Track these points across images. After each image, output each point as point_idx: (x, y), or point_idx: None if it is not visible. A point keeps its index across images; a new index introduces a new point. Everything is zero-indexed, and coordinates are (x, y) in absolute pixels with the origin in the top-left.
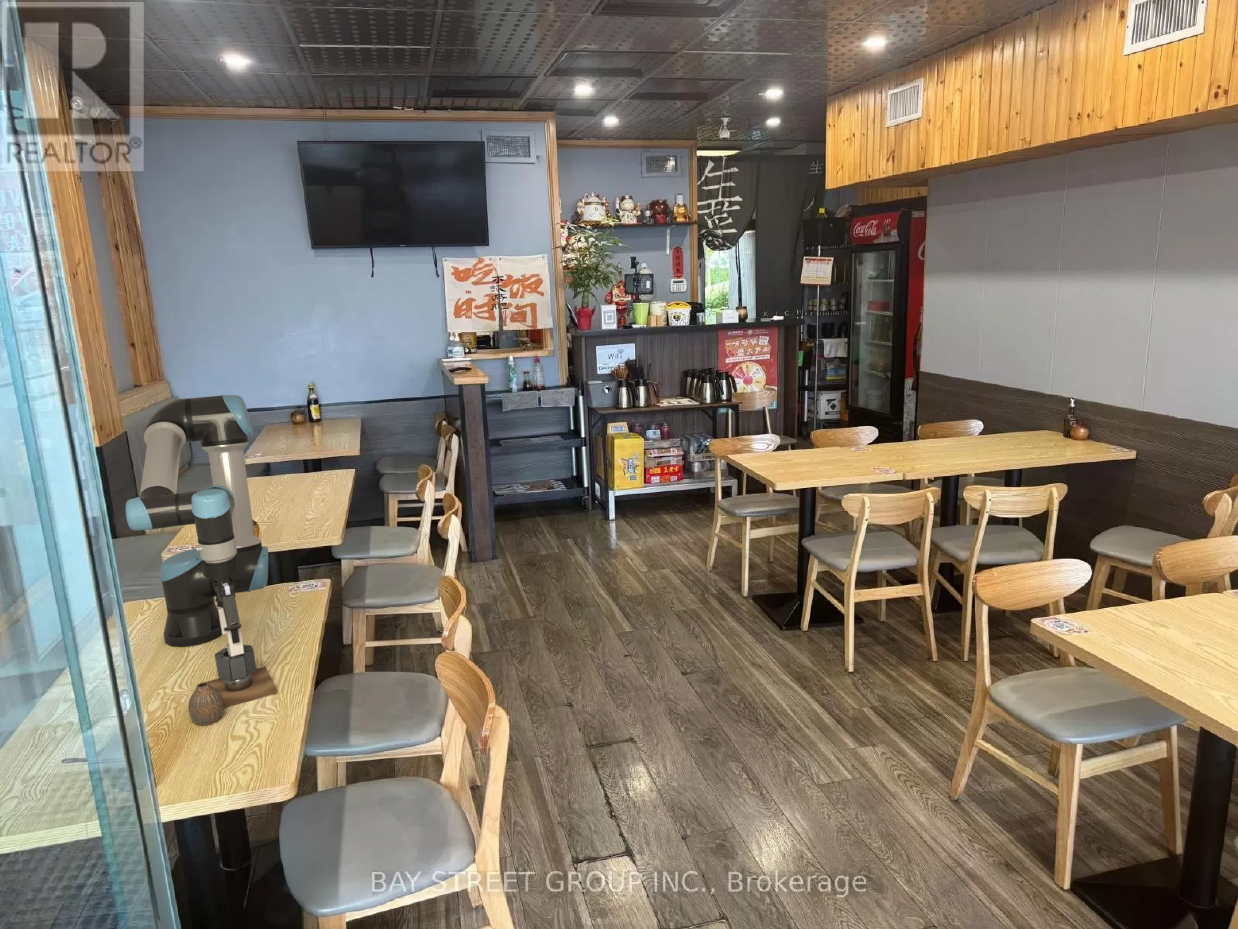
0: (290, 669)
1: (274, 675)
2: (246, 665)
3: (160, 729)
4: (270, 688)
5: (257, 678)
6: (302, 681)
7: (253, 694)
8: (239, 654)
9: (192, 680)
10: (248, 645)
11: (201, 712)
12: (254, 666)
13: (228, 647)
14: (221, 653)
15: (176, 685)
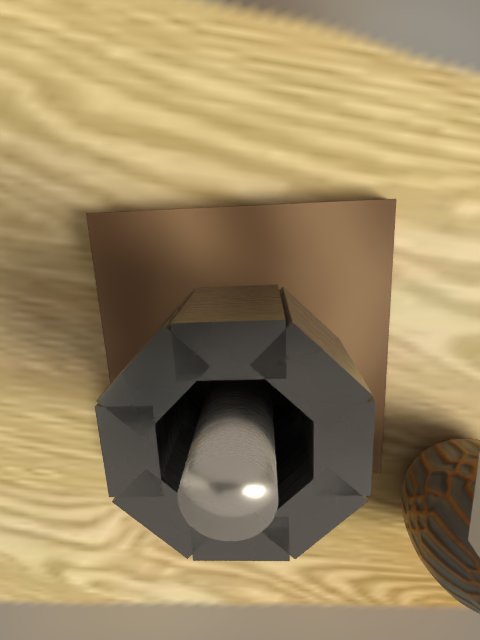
0: (142, 89)
1: (172, 180)
2: (352, 362)
3: (394, 599)
4: (376, 225)
5: (216, 267)
6: (333, 50)
7: (386, 307)
8: (257, 411)
9: (41, 487)
10: (158, 343)
11: None
12: (292, 300)
13: (256, 527)
14: None
15: (58, 535)
